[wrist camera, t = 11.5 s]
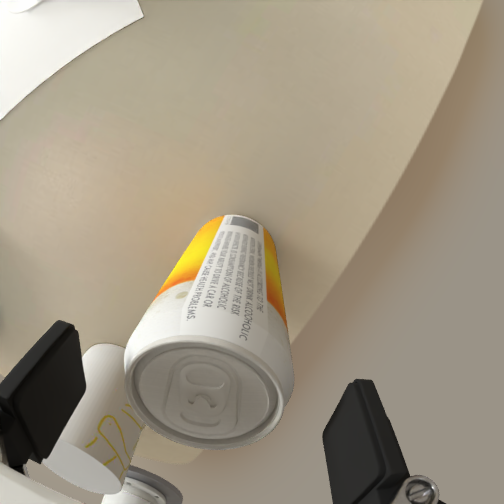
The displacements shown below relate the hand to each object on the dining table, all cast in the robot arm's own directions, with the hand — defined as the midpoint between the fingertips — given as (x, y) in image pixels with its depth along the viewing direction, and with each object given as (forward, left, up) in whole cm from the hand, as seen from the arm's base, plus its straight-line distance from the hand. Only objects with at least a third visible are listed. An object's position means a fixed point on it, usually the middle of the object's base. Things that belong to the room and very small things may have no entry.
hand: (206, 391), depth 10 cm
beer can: (0, 0, -15) cm, 15 cm away
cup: (-15, +9, -15) cm, 23 cm away
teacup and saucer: (+20, +24, -15) cm, 34 cm away
